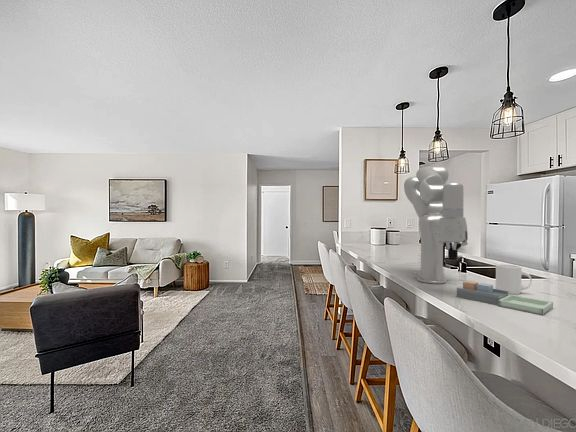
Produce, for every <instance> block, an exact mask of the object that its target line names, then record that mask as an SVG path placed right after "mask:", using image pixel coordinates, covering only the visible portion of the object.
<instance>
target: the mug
mask: <svg viewBox="0 0 576 432" xmlns="http://www.w3.org/2000/svg"><path fill="white" fill-rule="evenodd" d="M523 275H524V276H526V277H528V278H529V284H528V285H527V284H526V285H523V284H522V276H523ZM531 285H532V276H531V275H530V273H528V272H527V271H525V270H523V269H522V266H520V265H515V264H503V263H502V264H501V263H499V264H495V289H499V290H505V291H508V295H519V294H521V292H522V291H523V290H524V291H525V290H527V289H529V288H530V287H531Z"/></svg>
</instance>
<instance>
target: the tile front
mask: <svg viewBox="0 0 576 432" xmlns="http://www.w3.org/2000/svg"><path fill="white" fill-rule="evenodd" d="M493 289H494V284H489V283H483V282H479V283H478V284H477V291H480V292H485V293H493Z"/></svg>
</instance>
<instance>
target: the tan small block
mask: <svg viewBox="0 0 576 432" xmlns="http://www.w3.org/2000/svg"><path fill="white" fill-rule="evenodd" d="M477 284H479V282H478V281H471V280H465V281H463V282H462V288H463V289H468V290H474V291H477Z"/></svg>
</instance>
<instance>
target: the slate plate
mask: <svg viewBox="0 0 576 432" xmlns="http://www.w3.org/2000/svg"><path fill="white" fill-rule="evenodd" d="M508 295H509V294H508V291H505V290H499V289H496V288H493V293H485V292H480V291H474V290H468V289H463V287H456V298H459V299H460V298H461V299H465V300H471V301H476V302H479V301H480V303H484V302H485V304H489V305H495V306H498V300H500V299H502V298H504V297H506V296H508Z"/></svg>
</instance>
